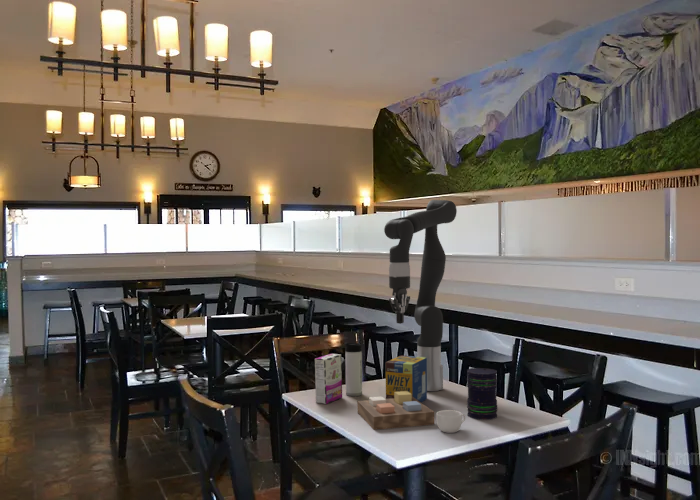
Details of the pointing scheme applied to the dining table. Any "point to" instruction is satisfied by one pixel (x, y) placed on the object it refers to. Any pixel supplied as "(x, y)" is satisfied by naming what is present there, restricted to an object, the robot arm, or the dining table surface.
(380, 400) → the white block
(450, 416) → the teacup
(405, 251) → the robot arm
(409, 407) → the light blue block
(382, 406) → the terracotta key
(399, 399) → the ochre key
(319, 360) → the candy bar box
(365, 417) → the brown flat wooden block
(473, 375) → the storage jar
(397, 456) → the dining table surface
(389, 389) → the protein box
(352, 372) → the travel mug
